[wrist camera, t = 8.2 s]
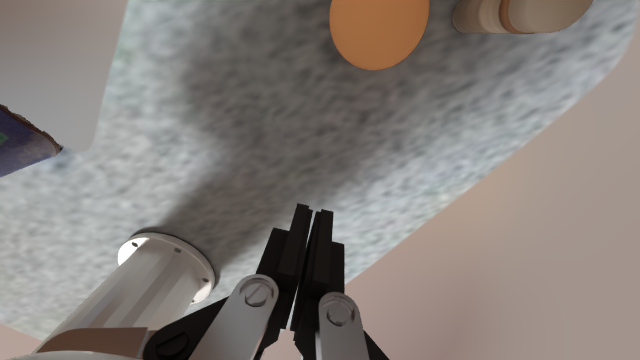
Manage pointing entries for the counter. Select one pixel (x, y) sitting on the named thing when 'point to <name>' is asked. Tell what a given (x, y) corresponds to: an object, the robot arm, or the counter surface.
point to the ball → (377, 30)
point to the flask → (22, 143)
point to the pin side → (517, 15)
